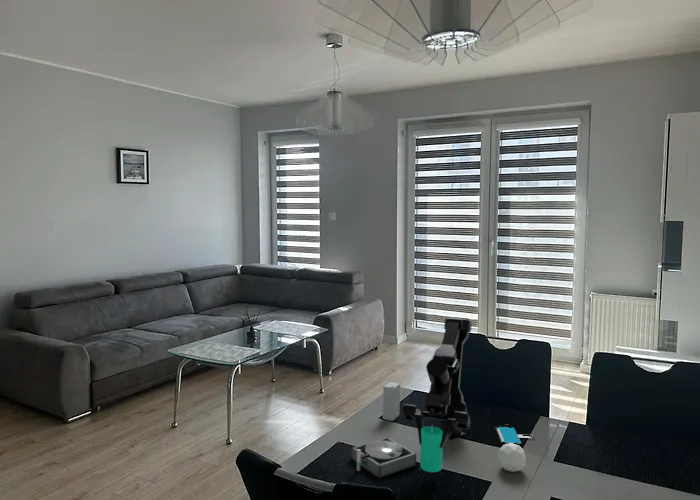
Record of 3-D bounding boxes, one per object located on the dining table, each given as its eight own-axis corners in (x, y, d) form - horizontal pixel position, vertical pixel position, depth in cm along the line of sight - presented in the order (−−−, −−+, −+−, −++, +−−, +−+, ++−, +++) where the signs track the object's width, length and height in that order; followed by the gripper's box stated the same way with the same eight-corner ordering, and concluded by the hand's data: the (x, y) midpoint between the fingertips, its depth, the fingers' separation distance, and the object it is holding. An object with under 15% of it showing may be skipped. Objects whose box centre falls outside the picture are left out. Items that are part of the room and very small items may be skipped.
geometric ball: (516, 482, 153) (522, 469, 147) (490, 465, 156) (495, 452, 151) (527, 462, 157) (533, 448, 152) (502, 446, 161) (507, 432, 156)
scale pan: (386, 440, 166) (386, 437, 166) (410, 454, 157) (410, 451, 157) (350, 451, 158) (350, 448, 158) (373, 466, 149) (373, 463, 149)
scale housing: (387, 447, 168) (387, 429, 167) (416, 465, 157) (416, 445, 156) (343, 461, 159) (343, 441, 158) (371, 480, 147) (371, 459, 147)
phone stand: (541, 453, 166) (541, 448, 166) (501, 451, 167) (502, 446, 167) (526, 427, 186) (526, 422, 186) (491, 425, 187) (491, 420, 187)
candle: (441, 473, 144) (442, 430, 143) (419, 471, 146) (420, 428, 145) (442, 462, 150) (443, 421, 149) (421, 460, 151) (421, 419, 150)
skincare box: (388, 413, 196) (389, 380, 195) (400, 415, 194) (400, 382, 193) (381, 419, 190) (382, 385, 189) (393, 421, 188) (394, 388, 187)
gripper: (403, 376, 153) (392, 428, 143) (469, 384, 146) (462, 440, 137) (409, 393, 161) (399, 444, 152) (473, 402, 154) (466, 456, 145)
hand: (430, 445), depth 146 cm, fingers closed on candle, 5 cm apart
